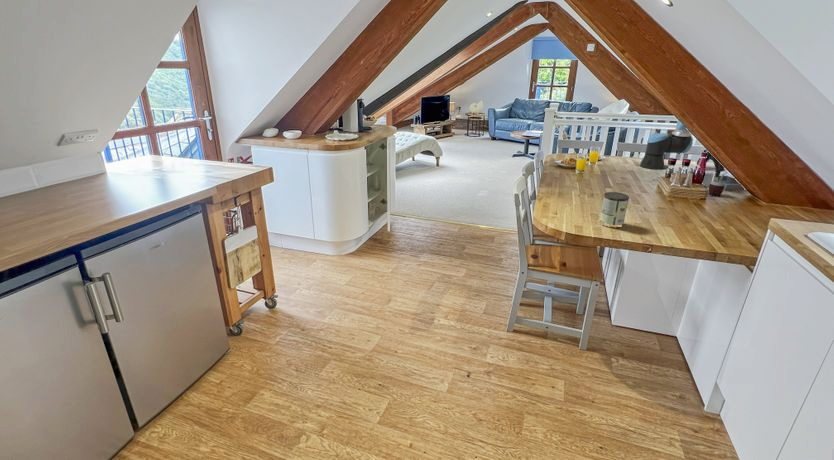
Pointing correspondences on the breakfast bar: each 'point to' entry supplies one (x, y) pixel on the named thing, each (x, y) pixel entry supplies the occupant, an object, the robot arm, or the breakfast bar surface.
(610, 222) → the coffee can
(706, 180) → the medicine box
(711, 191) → the mate gourd
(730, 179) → the sorting tray
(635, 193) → the breakfast bar surface
